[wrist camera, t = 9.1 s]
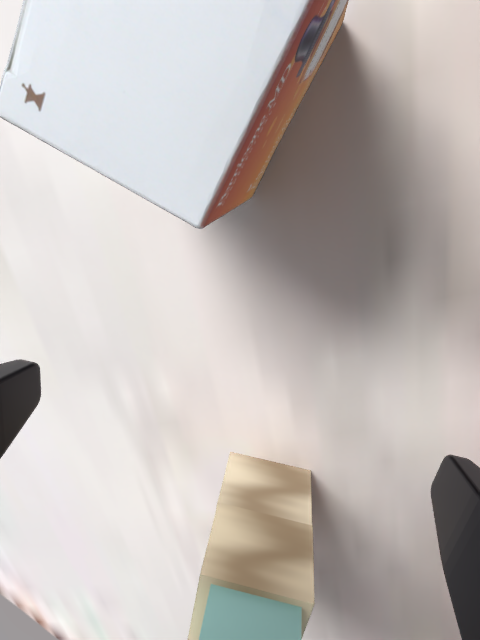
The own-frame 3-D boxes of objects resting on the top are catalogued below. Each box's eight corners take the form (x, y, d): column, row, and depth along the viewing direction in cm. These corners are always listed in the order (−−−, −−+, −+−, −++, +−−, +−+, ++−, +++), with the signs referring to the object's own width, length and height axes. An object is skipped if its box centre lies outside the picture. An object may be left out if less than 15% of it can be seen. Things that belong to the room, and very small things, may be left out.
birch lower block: (310, 470, 25) (312, 525, 21) (293, 528, 26) (291, 588, 23) (230, 451, 25) (217, 502, 21) (218, 510, 27) (205, 566, 23)
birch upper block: (312, 525, 21) (314, 604, 17) (291, 588, 23) (289, 671, 19) (218, 502, 21) (200, 574, 18) (205, 566, 23) (186, 643, 19)
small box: (251, 200, 19) (198, 242, 10) (147, 139, 19) (-17, 118, 9) (348, 17, 16) (417, -196, 6) (226, -60, 16) (102, -406, 6)
